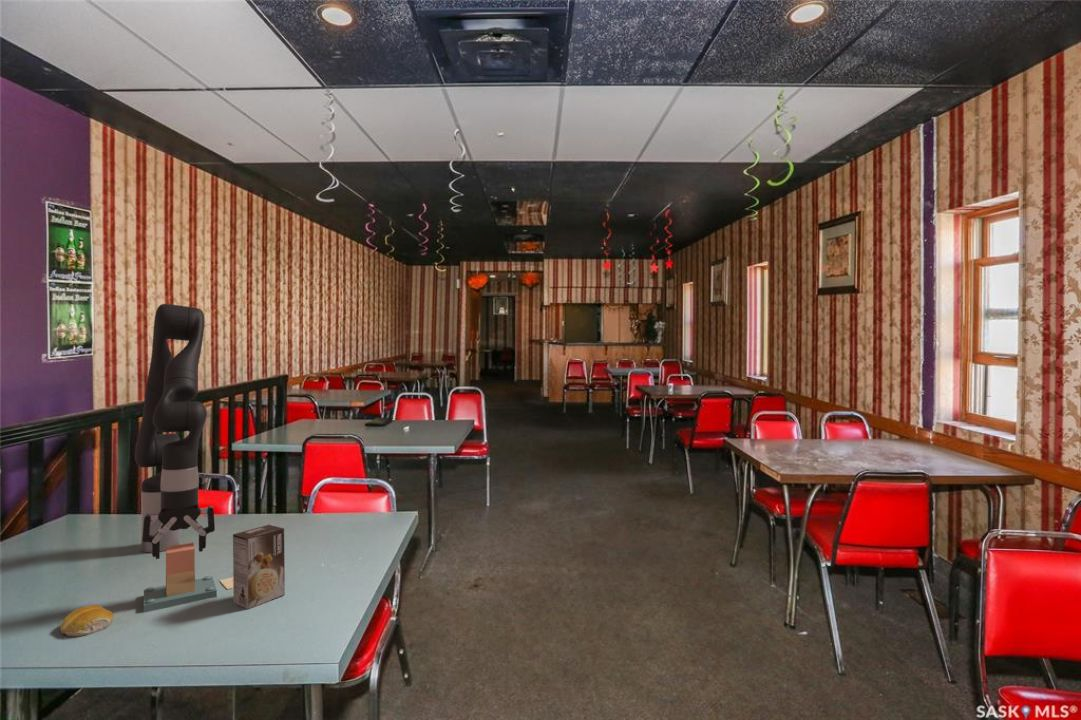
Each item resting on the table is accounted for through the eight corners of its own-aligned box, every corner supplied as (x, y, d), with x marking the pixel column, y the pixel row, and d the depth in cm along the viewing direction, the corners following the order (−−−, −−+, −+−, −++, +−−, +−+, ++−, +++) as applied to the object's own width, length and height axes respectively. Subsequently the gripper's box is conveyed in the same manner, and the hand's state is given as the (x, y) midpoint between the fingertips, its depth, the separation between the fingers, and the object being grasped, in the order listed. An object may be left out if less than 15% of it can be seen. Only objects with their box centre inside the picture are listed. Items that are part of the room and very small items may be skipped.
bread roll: (100, 614, 122) (100, 596, 122) (119, 625, 117) (119, 606, 117) (52, 630, 115) (53, 610, 115) (70, 642, 110) (70, 622, 110)
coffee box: (269, 589, 135) (270, 523, 135) (285, 595, 132) (285, 528, 132) (232, 603, 128) (232, 533, 127) (247, 610, 124) (248, 538, 124)
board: (143, 595, 131) (143, 587, 131) (212, 582, 139) (212, 574, 139) (143, 612, 123) (143, 603, 123) (216, 596, 131) (216, 588, 131)
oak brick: (165, 588, 131) (165, 567, 131) (193, 583, 135) (193, 562, 135) (166, 597, 127) (166, 575, 127) (194, 591, 130) (195, 569, 130)
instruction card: (219, 581, 140) (219, 579, 140) (262, 570, 147) (262, 569, 147) (227, 589, 135) (227, 588, 135) (271, 578, 141) (271, 577, 141)
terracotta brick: (165, 567, 131) (165, 546, 131) (193, 562, 135) (193, 542, 135) (166, 575, 127) (166, 553, 127) (194, 570, 130) (194, 548, 130)
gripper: (213, 479, 138) (212, 544, 138) (142, 486, 130) (142, 555, 130) (216, 485, 132) (215, 553, 132) (142, 493, 124) (142, 565, 124)
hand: (179, 554), depth 131 cm, fingers open, 8 cm apart
